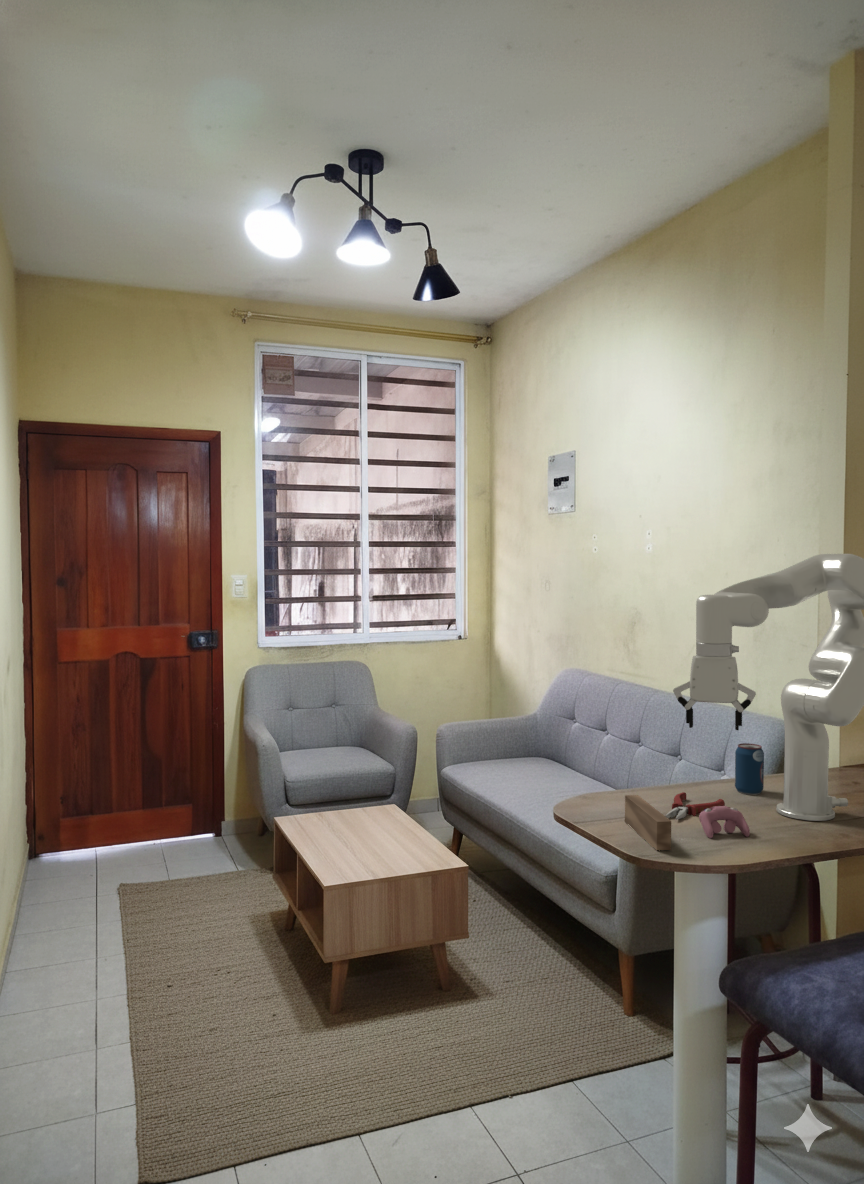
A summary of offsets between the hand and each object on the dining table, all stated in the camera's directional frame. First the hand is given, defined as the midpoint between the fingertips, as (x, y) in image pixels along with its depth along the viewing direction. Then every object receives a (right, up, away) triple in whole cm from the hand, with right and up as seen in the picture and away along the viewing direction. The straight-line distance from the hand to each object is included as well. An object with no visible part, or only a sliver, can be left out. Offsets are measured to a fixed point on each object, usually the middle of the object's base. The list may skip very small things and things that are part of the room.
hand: (713, 727), depth 189 cm
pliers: (-2, -23, +15) cm, 27 cm away
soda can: (+19, -22, +31) cm, 43 cm away
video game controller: (+1, -23, -4) cm, 23 cm away
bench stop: (-16, -22, -5) cm, 28 cm away
